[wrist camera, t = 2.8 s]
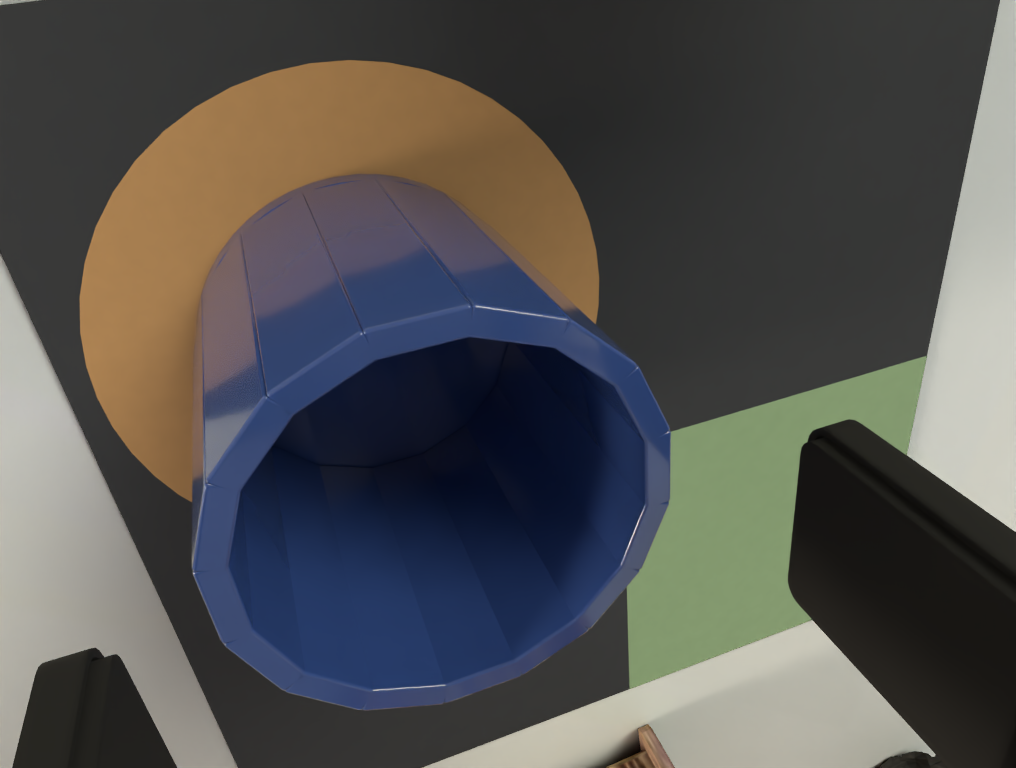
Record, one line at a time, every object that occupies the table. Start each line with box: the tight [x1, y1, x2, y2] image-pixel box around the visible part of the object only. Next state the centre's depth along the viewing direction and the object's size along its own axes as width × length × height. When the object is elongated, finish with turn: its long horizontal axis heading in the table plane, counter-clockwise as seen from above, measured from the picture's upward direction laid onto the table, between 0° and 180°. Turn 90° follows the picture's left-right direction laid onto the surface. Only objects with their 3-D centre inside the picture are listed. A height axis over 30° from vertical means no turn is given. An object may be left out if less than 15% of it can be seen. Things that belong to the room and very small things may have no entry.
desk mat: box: [0, 0, 1000, 768], centre depth 20 cm, size 22×22×1 cm
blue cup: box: [192, 174, 671, 711], centre depth 14 cm, size 7×7×7 cm
